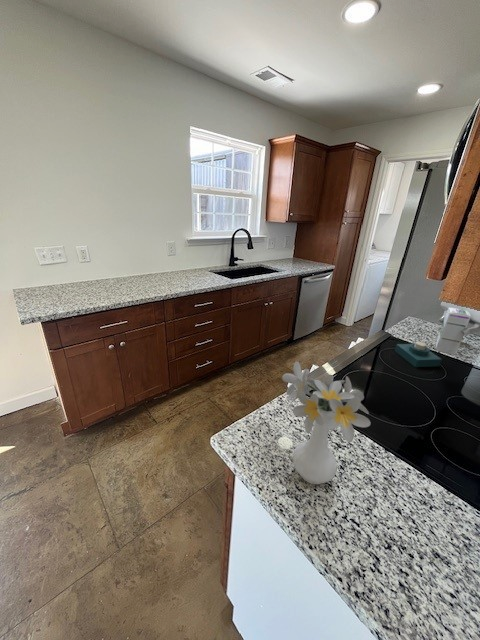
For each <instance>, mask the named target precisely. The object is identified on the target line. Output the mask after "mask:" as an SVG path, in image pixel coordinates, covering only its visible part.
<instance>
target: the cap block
mask: <svg viewBox="0 0 480 640" xmlns="http://www.w3.org/2000/svg"><path fill="white" fill-rule="evenodd" d="M415 343H416V342H413V343H397V344H395V348H394V352H395V353H397V354H398V355H399V356H400V357H402V358H403V359H404V360H405V361H406V362H408V363H409V364H410V365H411V366H413V367H414V368H431V367H432V368H433V367H440V365H441V363H442V360H443V358H441V357H439V356H438V355H436V354H435V353H434V352H432V351H431V350H430V347H428V346H426V348H425V350H419V349H416V348H415V347H414V345H415Z"/></svg>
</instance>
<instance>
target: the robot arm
mask: <svg viewBox="0 0 480 640" xmlns="http://www.w3.org/2000/svg"><path fill="white" fill-rule="evenodd" d="M439 306H440V308H441V309H442V311H443V314H442V316H441V317H440V318H439V319H438V322H439V323H441V325H442V324H443V321H444V318H445V316H446V313H447V310H448V308H457V309H463V310H466V311H468V312H469V313H470V315H471V318H470V320H469V323H468V324H471V325H473V326H472V327H467V328H464V329H463V330H461V333H462V334H464V336H466V337H468V336H469V335H471V334H474V333H478V332H480V311H477V310H474V309H470V308H466V307H461V306H457V305H454V304H451V303H446V302H443V301H441V302H440V305H439Z"/></svg>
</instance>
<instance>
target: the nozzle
mask: <svg viewBox="0 0 480 640" xmlns="http://www.w3.org/2000/svg"><path fill="white" fill-rule="evenodd" d="M414 343H415V345H414V347H415V348H416V349H419V350H425V348H426V347H427V343H425V342H423V341H415V342H414Z"/></svg>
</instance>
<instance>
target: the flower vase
mask: <svg viewBox="0 0 480 640" xmlns="http://www.w3.org/2000/svg"><path fill="white" fill-rule="evenodd" d="M292 370H293V373H289V372H288V373H283V374H282V376H281V379H282V381H283V382H285V383H288V384H290V385H289V386H288V387H287V389H286V395H287V397H286V401H290V400H291V401H290V402H291V403H293V402H295V401H296V400H297V399H298V400H299V402H300V403H301V404H300V405H296V406H294V407H293V409H292V414H293V415H294V416H296V417H298V418H303V417H305V418H304V422H303V423H304V430H305V432H306V434H310V433H311V434H310V437H309V439H307V440H303V441H302V442H300V443H298V444H297V446H296V447H295V448H294V451H293V452H292V462H293V467H294V468H295V470H296V472H297V473H298V474H299V476H300V477H301V478H302V479H303V480H304V481H305V482H307V483H308V484H310V485H323V484H326V483H329V482H330V481H332V480H333V479H334V478H335V476H336V474H337V470H338V464H337V458H336V457H335V454H334V453H333V451H332V450H331V448H329V446H328V439H329V433H330V430H335V429H338V428H339V427H340V431H341V434H342V437H343V439H344V440H345V441H346V442H347V443H351V442H352V441H353V440H354V437H355V429H354V426H355V427H358V428H368V427H370V426H371V421H370V419H369V418H368V417H367V416H365V415H362V414H360V413H357V411H359V410H360V411H362V412H363V413H365V414H367V415H370V413H369V410H368V409H367V408H366V407H365V406H364V405H363V404H362V402H363V400H364V399H365V395H364V394H363V392H362V391H360V390H357V389H354V390H352V389H353V388H352V387H353V386H352V385H353V384H352V382H351V380H350V377H349V376H347V375H345V380H344V379H342V380H341V379H339V380H334V378H335V377H334V375H333V374H327V375H325V376H324V377H323V378H322V381H321V380H319V379H312V378H309V379H308V377H309V374H310V369H309V368H305V369H304V370H302V367H301V364H300V362H299V361H295V362H293V369H292ZM342 384H343V391H341V390H342ZM309 390H313V391H314V392H313V391H312V393H311V392H309ZM307 395H308V396H309V397H308V396H307ZM343 403H346V404H345V405H344V404H343Z"/></svg>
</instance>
